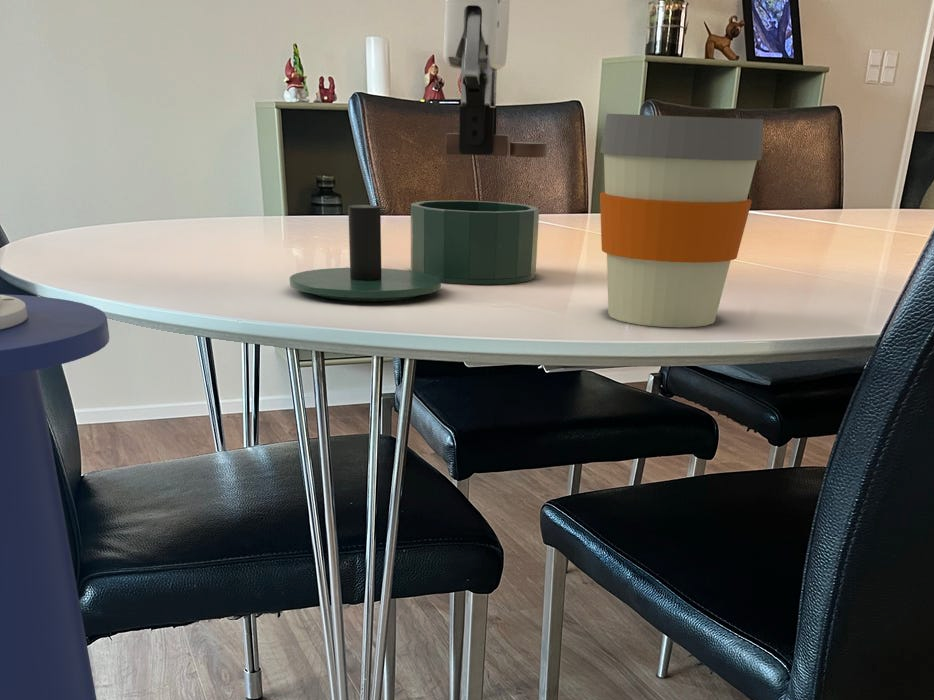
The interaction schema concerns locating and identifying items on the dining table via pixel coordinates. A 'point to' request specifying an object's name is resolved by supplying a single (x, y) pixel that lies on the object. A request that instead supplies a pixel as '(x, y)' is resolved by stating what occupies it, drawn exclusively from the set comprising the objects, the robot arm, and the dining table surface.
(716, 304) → the reusable coffee cup
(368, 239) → the lid
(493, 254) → the tin
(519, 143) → the wooden bar and disc
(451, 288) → the dining table surface
